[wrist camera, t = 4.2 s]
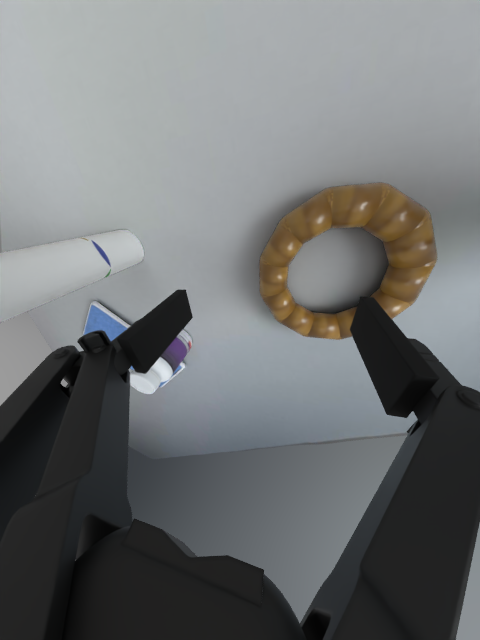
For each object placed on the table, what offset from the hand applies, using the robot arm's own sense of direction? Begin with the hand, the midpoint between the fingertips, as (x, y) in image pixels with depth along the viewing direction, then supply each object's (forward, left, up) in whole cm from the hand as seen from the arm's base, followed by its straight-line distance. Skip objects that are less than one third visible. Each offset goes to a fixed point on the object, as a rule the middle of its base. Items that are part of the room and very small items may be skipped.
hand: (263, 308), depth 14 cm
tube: (+19, -3, -9) cm, 21 cm away
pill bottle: (+16, +12, -9) cm, 22 cm away
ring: (-6, 0, -7) cm, 9 cm away
